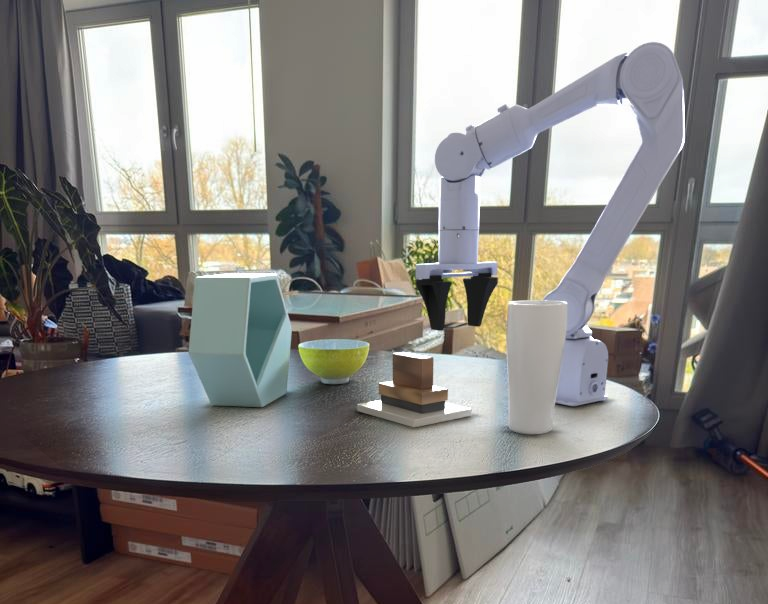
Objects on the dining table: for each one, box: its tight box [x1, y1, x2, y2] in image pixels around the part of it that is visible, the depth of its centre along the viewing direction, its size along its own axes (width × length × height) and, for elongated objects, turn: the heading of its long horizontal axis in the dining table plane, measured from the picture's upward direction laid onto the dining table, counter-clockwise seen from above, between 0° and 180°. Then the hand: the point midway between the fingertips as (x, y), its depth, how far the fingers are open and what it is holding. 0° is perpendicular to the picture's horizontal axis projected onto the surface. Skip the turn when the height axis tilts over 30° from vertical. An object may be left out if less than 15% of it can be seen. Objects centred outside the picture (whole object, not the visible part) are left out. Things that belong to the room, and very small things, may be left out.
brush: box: [378, 351, 449, 413], centre depth 95 cm, size 9×4×7 cm, turn 38°
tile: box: [356, 399, 473, 428], centre depth 97 cm, size 12×10×1 cm
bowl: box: [298, 338, 370, 385], centre depth 118 cm, size 11×12×6 cm
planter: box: [188, 273, 293, 408], centre depth 102 cm, size 17×8×21 cm
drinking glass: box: [505, 299, 568, 435], centre depth 85 cm, size 7×7×15 cm
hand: (456, 328), depth 108 cm, fingers open, 7 cm apart
